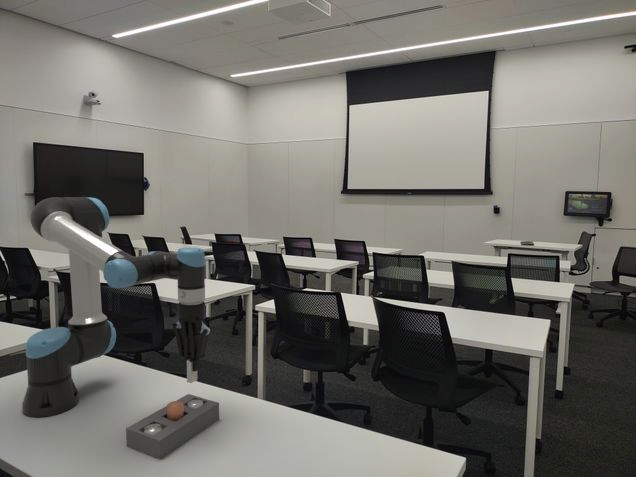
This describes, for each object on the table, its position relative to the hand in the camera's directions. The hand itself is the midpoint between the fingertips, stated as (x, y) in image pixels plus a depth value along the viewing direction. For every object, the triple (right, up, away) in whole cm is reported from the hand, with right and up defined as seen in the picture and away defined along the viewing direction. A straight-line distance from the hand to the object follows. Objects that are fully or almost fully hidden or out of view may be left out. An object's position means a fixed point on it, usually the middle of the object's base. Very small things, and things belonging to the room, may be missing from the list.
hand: (192, 380), depth 130 cm
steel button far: (0, -12, +2) cm, 12 cm away
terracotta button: (-3, -9, -5) cm, 11 cm away
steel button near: (-7, -13, -12) cm, 19 cm away
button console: (-3, -13, -5) cm, 14 cm away
